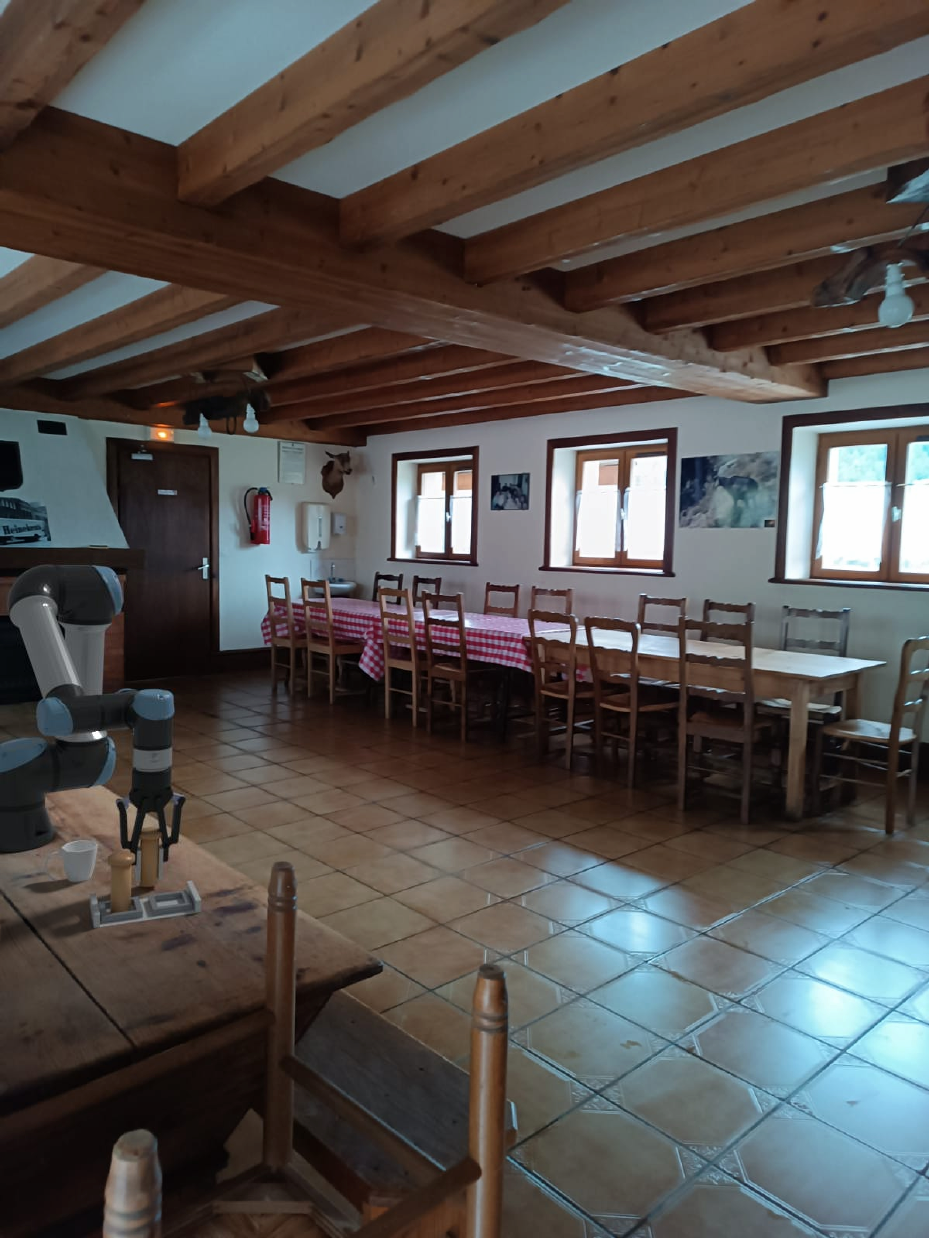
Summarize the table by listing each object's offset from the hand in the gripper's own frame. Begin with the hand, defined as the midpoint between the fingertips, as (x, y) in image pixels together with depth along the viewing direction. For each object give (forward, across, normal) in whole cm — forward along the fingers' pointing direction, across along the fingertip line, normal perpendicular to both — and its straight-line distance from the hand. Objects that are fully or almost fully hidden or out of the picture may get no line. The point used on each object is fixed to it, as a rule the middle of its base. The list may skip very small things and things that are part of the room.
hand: (148, 877), depth 174 cm
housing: (+3, -2, -10) cm, 11 cm away
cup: (+3, -14, +10) cm, 17 cm away
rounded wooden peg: (+2, -6, -10) cm, 12 cm away
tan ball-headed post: (+1, 0, 0) cm, 1 cm away
